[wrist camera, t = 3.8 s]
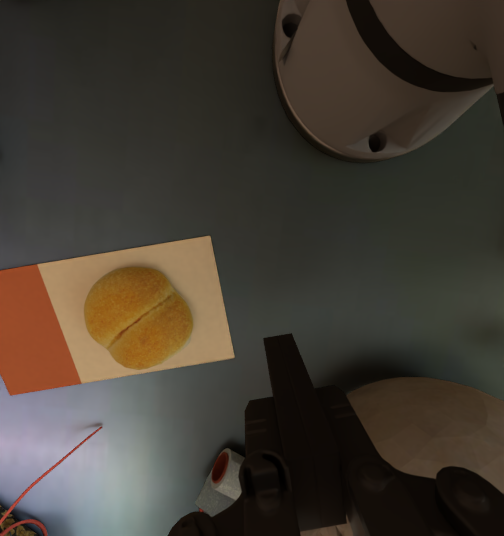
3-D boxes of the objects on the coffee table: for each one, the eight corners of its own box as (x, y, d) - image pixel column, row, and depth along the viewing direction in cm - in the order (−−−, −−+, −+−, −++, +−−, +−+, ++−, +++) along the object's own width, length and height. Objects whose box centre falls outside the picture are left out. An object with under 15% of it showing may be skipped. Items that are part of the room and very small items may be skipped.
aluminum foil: (368, 524, 32) (393, 544, 29) (352, 594, 29) (377, 624, 26) (223, 442, 27) (233, 455, 24) (187, 515, 25) (193, 540, 22)
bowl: (290, 532, 30) (335, 833, 16) (265, 367, 25) (299, 591, 10) (479, 503, 31) (698, 774, 16) (496, 332, 25) (848, 504, 11)
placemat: (210, 235, 22) (210, 235, 22) (234, 356, 25) (234, 357, 25) (-42, 277, 22) (-44, 277, 22) (11, 394, 25) (10, 395, 25)
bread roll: (145, 246, 22) (125, 254, 18) (209, 324, 24) (203, 347, 20) (73, 299, 23) (38, 318, 19) (140, 370, 24) (122, 401, 21)
